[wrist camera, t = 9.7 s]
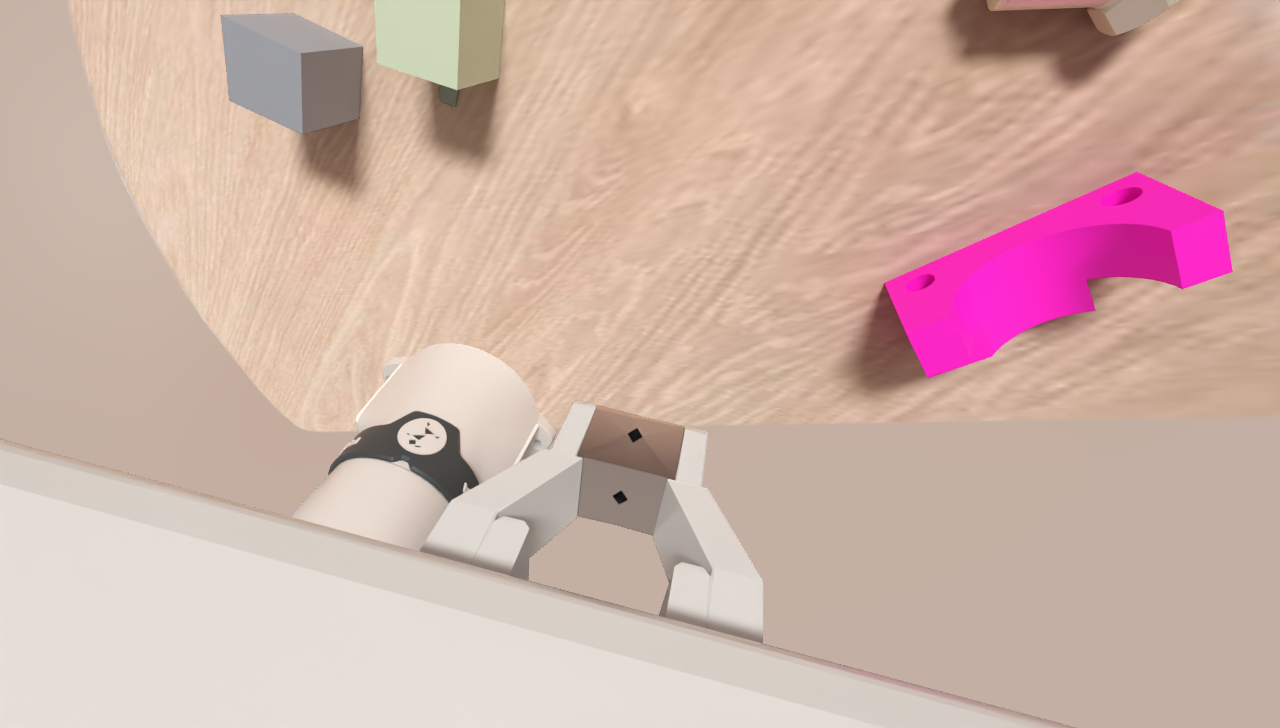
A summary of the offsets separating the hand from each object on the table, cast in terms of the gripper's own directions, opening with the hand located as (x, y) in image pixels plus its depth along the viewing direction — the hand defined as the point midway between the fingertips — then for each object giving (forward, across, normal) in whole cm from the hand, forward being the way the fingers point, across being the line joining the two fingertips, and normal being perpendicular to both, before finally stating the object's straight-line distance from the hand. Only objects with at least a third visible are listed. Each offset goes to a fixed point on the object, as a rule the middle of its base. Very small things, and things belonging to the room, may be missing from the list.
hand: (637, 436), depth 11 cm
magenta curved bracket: (+30, -22, +4) cm, 37 cm away
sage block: (+29, +18, -4) cm, 35 cm away
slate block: (+29, +29, 0) cm, 41 cm away
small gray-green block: (+29, +20, 0) cm, 35 cm away
